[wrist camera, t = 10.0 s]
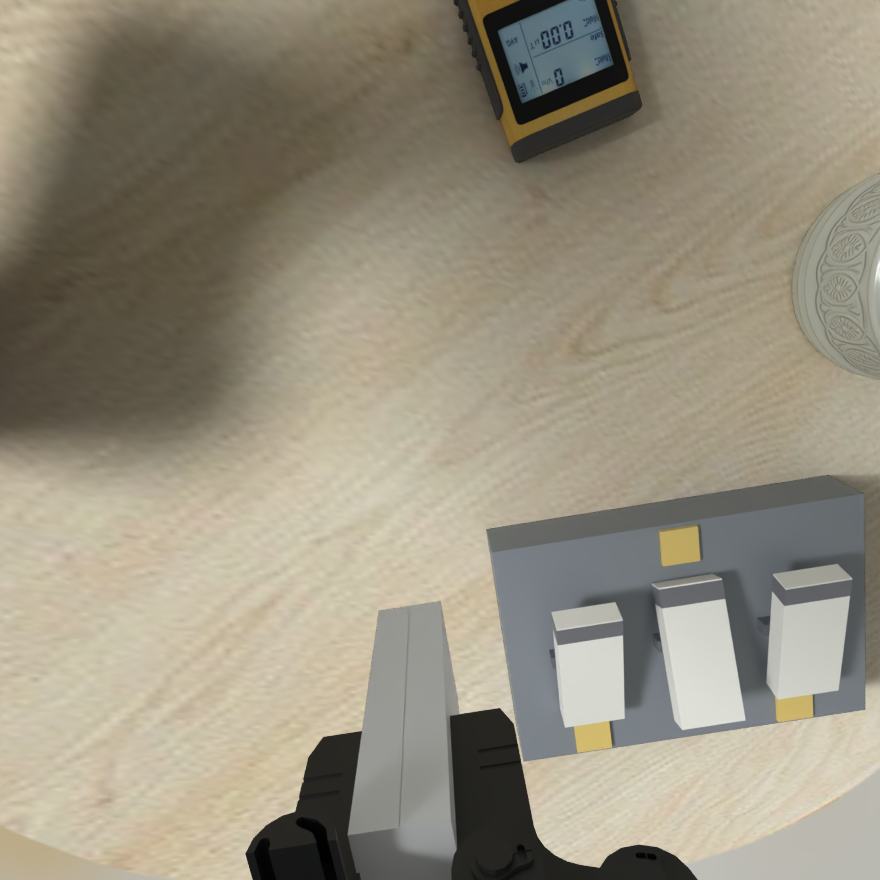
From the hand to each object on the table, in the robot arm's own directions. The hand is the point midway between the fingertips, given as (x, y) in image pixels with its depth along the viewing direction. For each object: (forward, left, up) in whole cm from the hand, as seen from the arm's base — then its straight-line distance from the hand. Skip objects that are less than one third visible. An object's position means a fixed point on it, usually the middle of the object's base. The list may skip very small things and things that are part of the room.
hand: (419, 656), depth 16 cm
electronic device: (+10, +23, -30) cm, 39 cm away
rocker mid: (+15, -17, -23) cm, 33 cm away
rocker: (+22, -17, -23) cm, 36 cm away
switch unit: (+15, -17, -29) cm, 37 cm away
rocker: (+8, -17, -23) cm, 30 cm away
